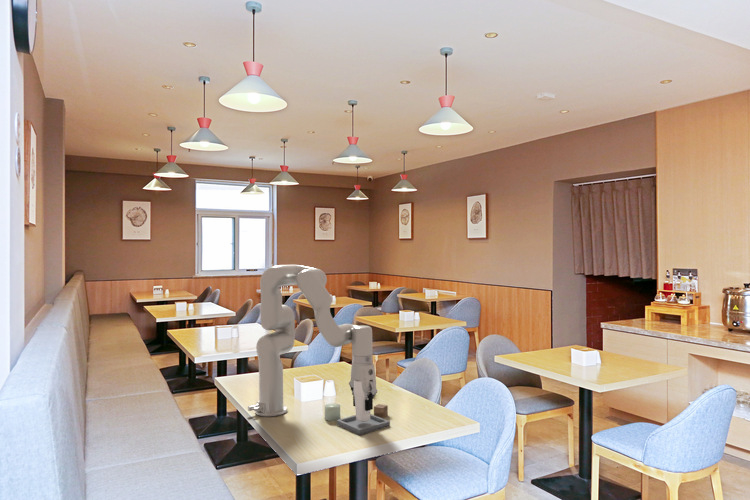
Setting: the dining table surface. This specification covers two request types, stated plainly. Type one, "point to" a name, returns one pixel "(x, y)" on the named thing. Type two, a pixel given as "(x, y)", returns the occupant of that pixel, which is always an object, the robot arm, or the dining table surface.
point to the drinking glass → (360, 402)
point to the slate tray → (363, 424)
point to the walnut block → (381, 410)
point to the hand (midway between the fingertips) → (362, 407)
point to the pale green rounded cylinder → (332, 412)
